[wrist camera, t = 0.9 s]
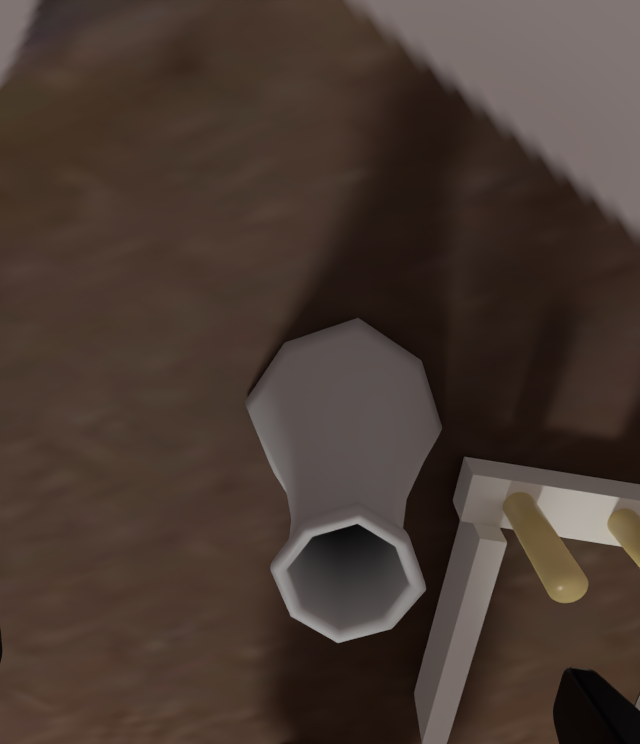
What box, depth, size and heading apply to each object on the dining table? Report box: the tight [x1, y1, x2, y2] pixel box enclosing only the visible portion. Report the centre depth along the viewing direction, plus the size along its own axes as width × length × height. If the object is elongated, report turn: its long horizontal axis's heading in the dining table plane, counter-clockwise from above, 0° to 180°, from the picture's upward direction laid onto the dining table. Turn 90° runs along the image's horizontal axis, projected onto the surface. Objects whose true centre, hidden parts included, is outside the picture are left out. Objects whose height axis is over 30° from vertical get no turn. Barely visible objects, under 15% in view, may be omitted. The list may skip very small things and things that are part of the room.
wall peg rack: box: [414, 457, 640, 744], centre depth 21 cm, size 12×12×6 cm
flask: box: [244, 318, 442, 643], centre depth 17 cm, size 7×7×10 cm
